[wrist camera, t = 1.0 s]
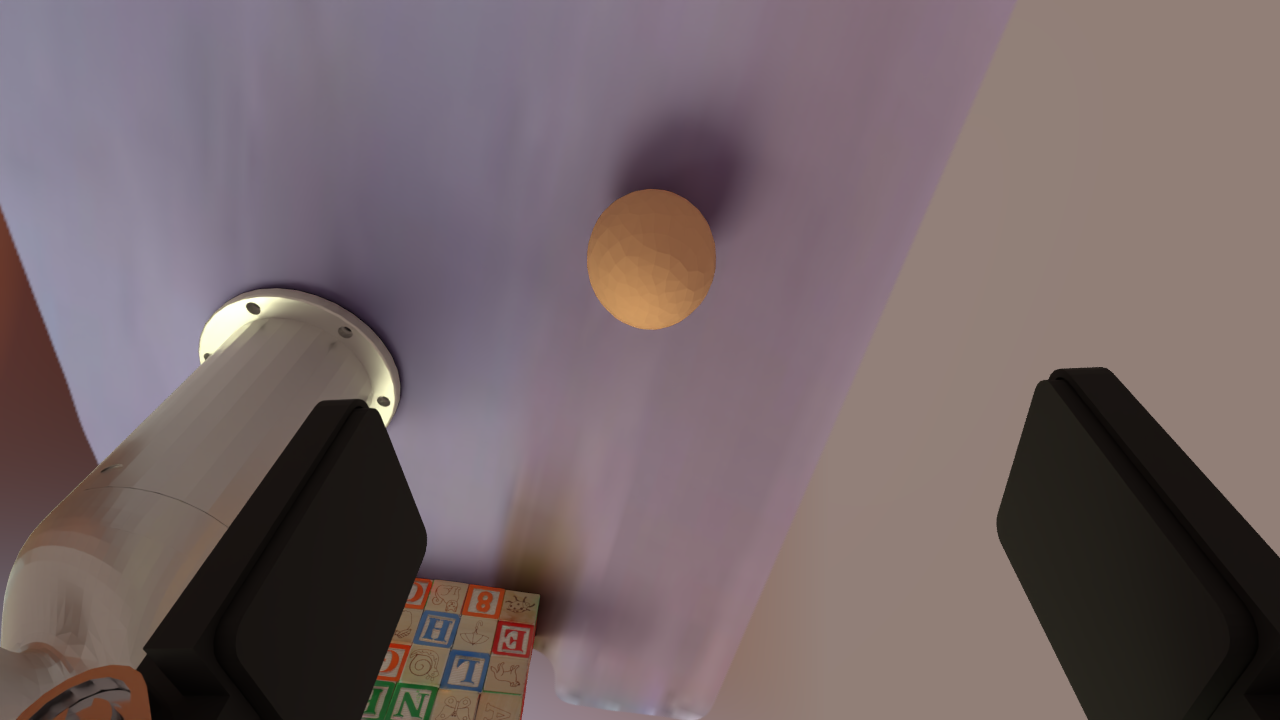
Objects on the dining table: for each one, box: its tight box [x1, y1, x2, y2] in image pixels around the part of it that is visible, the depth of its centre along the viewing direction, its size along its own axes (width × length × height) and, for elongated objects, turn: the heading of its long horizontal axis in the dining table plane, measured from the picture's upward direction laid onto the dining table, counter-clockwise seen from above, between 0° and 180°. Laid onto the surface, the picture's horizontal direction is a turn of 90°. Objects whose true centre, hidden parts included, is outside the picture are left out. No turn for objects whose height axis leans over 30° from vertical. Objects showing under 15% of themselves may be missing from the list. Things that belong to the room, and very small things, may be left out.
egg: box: [587, 189, 716, 330], centre depth 35 cm, size 7×7×9 cm
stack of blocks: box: [361, 578, 540, 720], centre depth 54 cm, size 21×6×12 cm, turn 80°
